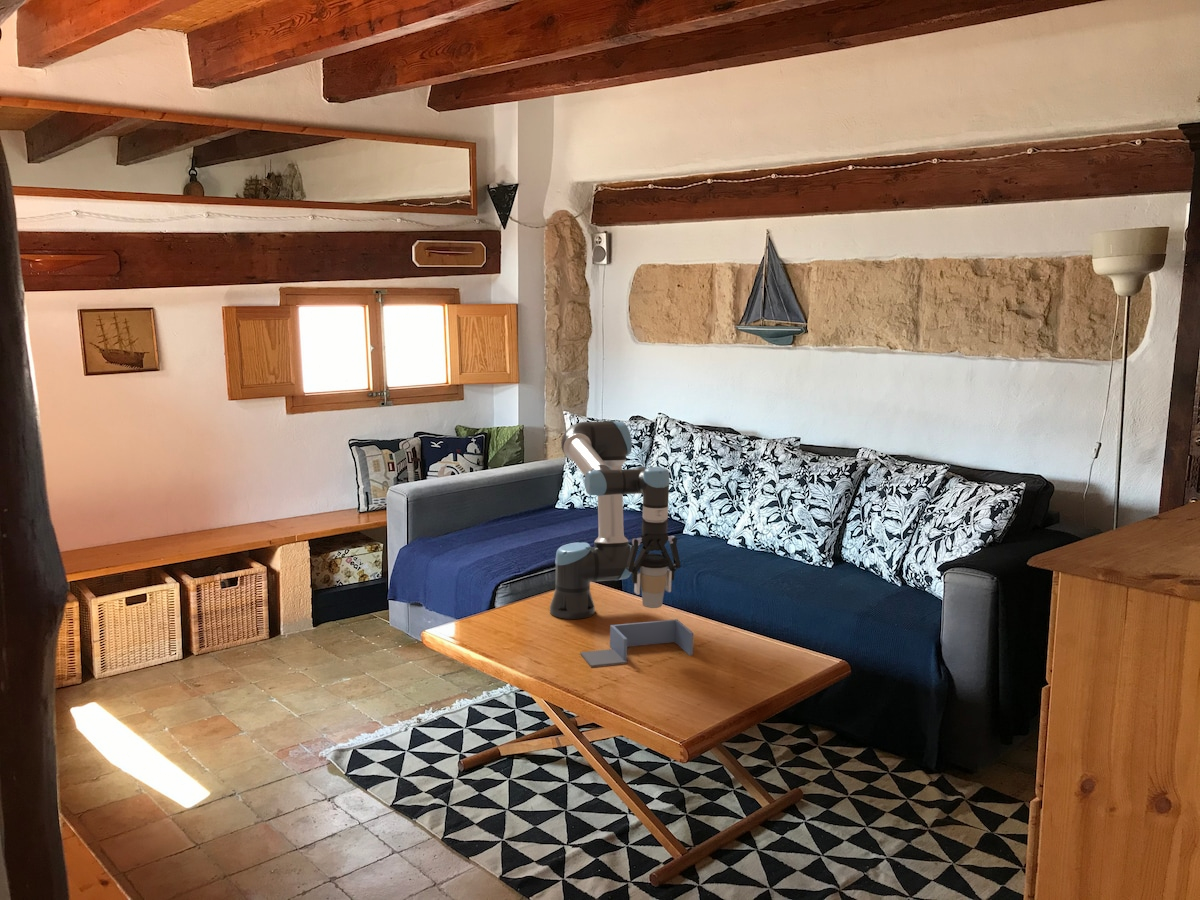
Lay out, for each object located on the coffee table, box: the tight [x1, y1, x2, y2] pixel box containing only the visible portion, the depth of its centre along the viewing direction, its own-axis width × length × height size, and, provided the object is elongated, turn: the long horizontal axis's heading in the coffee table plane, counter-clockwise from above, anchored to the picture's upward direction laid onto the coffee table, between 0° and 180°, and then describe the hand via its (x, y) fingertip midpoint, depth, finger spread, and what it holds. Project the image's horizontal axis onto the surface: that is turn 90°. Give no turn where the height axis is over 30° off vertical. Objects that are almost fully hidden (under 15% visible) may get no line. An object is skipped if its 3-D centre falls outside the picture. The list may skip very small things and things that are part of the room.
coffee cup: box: [639, 553, 669, 609], centre depth 298 cm, size 9×9×15 cm
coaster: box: [579, 648, 628, 668], centre depth 295 cm, size 11×11×1 cm
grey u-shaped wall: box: [609, 618, 694, 662], centre depth 301 cm, size 13×22×7 cm, turn 108°
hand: (652, 592), depth 299 cm, fingers closed on coffee cup, 9 cm apart
